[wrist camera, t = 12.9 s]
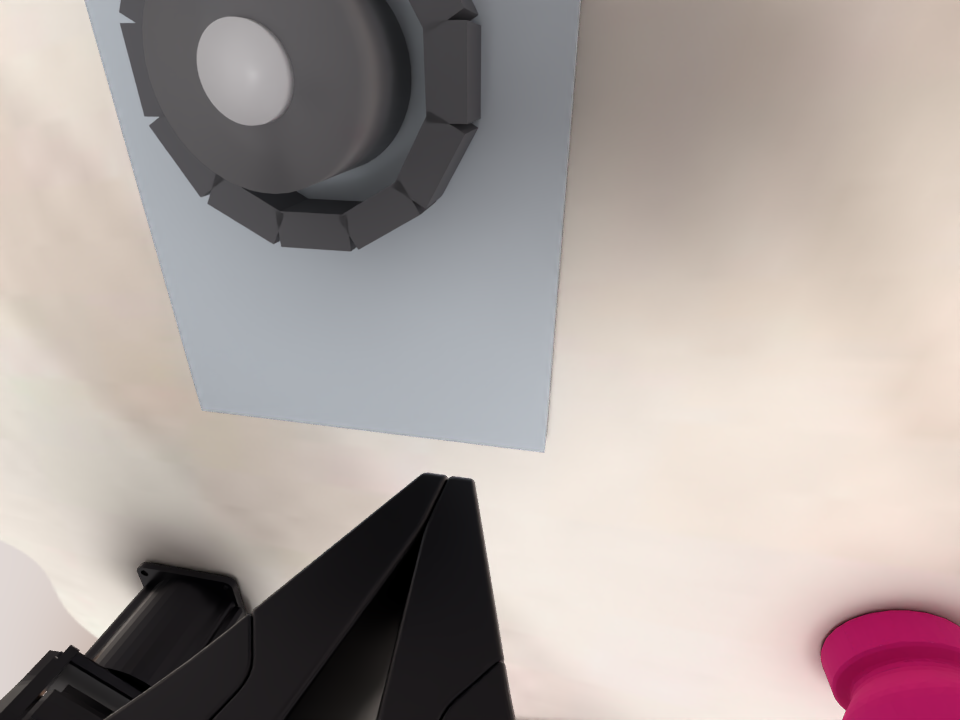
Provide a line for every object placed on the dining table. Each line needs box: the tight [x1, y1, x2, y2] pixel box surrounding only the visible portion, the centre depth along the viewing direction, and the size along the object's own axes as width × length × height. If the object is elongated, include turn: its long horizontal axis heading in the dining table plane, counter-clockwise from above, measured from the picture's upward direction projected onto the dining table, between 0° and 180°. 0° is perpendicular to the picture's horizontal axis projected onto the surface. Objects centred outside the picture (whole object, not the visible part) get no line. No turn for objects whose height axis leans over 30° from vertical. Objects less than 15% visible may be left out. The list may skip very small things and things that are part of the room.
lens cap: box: [142, 0, 411, 194], centre depth 15 cm, size 6×6×4 cm
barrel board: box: [85, 0, 581, 453], centre depth 19 cm, size 16×20×3 cm
